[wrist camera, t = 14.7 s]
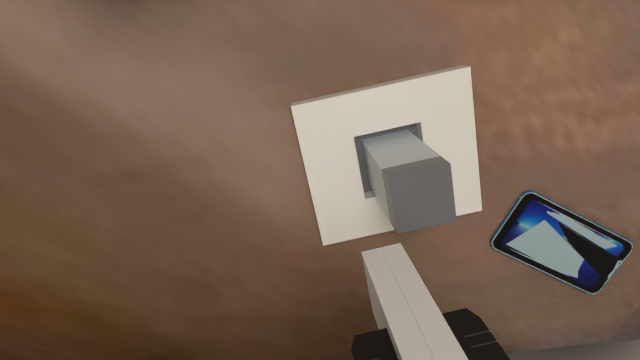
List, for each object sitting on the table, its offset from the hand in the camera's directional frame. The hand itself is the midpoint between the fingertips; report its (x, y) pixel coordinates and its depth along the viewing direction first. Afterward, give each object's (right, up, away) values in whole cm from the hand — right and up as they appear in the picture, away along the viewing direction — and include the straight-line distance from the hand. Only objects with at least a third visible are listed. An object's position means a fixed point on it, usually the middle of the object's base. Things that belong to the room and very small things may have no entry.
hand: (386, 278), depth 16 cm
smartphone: (+23, -3, +30) cm, 38 cm away
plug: (+4, +6, +24) cm, 25 cm away
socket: (+4, +6, +25) cm, 26 cm away
